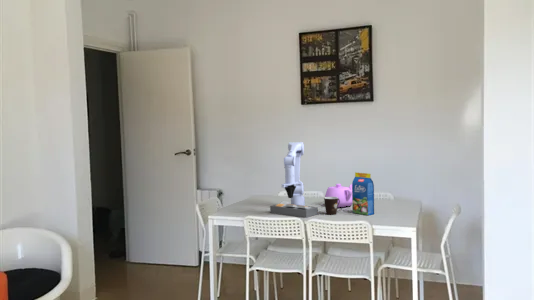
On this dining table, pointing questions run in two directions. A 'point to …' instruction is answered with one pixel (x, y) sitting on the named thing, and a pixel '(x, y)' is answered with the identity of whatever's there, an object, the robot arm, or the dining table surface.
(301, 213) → the power strip
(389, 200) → the dining table surface
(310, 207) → the rocker outlet
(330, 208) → the coffee mug
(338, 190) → the teapot
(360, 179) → the blue food package
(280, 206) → the outlet rocker
